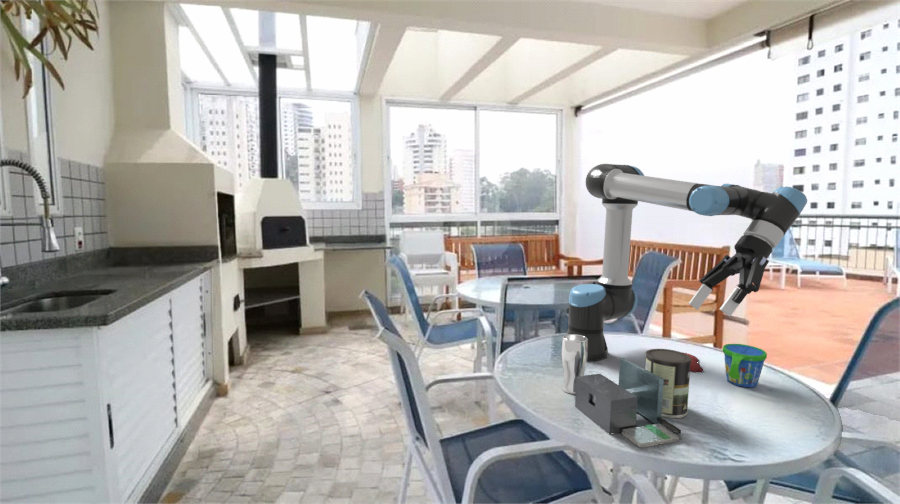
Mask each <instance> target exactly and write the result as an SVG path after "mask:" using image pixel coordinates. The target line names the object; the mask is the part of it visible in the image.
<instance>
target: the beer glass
mask: <svg viewBox="0 0 900 504" xmlns="http://www.w3.org/2000/svg"><path fill="white" fill-rule="evenodd" d="M566 334H567V333H566ZM566 334H565V335H562V343H561V364H562V369H563V370H562V371H563V381H562V384H561V389H562V391H563V392H564V393H566V394H570V395H576V377H577V376H585V372H586V366H587V363H588V360H587V357H588V341H587V340H588V339H587V337H585V336H582V335H577V334H567V335H566Z"/></svg>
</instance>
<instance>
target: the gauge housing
mask: <svg viewBox="0 0 900 504" xmlns="http://www.w3.org/2000/svg"><path fill="white" fill-rule="evenodd" d="M574 395H575V397H574V399H575V401H574V407H575V408H576V409H577V410H579V411H580V412H581V413H582V414H583V415H585V416H586V417H587V418H588V419H590V420H591V421H592V422H593V423H594V424H596V425H597V426H598V425H599V426H600V429H602V430H603V429H604V430H605V431H604V430H603V431H604V432H606V433H607V432H608V433H609V434H608V433H607V434H608V435H612V434H611V433H615V434H620V433H621V434H622V435H623V436H625V438H627V439H628V440H630V441H631V442H632V443H633V444H634V445H636V446H637V447H638V446H639V448H640V449H642V448H641V447H644V448H648V447H654V445H655V446H659V445H658V444H660V445H665V444H670V443H676V442H679V441H680V437H682V436H681V434H677V433H676V432H674V431H673V430H671V429H670V428H668V427H667V426H665V425H664V424H662V423H660V424H655V423H653V424H651V423H650V424H645V425H642V426H637V424H636V423H637V396H635V395H633V394H632V393H630V392H629V391H627V390H625V389H624V388H622V387H621V386H619V384H618V383H616V382H614V381H612V380H611V379H610V378H608V377H607V376H604V375H603V374H601V373H596V374H595V373H593V374H586V375H585V374H584V376H577V377H576V394H574ZM592 396H595V403H594V402H592ZM599 426H598V427H599Z"/></svg>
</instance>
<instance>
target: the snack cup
mask: <svg viewBox="0 0 900 504" xmlns="http://www.w3.org/2000/svg"><path fill="white" fill-rule="evenodd" d="M722 353H723V354H724V368H725V377H726V381H727V382H729V383H731V384H732V385H735V386H738V387H743V388H755V387H757V385H758V384H759V381H760V377H761V373H762V370H763V367H764V363H765V360H767V357H768V353H767V352H766V351H765V350H764V349H762V348H759V347H756V346H752V345H750V344H749V345H748V344H742V343H726V344H724V345H723V346H722Z"/></svg>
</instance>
